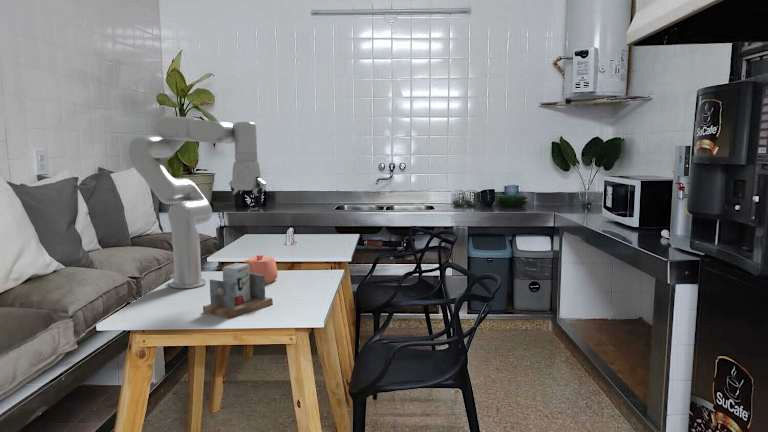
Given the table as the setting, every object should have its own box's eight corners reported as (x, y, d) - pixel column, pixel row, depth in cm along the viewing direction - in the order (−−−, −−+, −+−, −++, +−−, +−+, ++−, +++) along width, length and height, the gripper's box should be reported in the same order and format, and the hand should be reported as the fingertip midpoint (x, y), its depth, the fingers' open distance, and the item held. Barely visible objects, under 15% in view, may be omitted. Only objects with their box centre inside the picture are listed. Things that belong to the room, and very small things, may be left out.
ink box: (237, 306, 177) (235, 268, 176) (223, 305, 179) (221, 267, 178) (251, 299, 186) (249, 263, 184) (237, 298, 187) (236, 262, 186)
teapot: (282, 277, 226) (281, 251, 225) (264, 288, 209) (263, 260, 207) (255, 276, 228) (254, 251, 227) (235, 287, 211) (234, 259, 210)
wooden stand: (203, 312, 178) (201, 280, 177) (246, 299, 193) (245, 270, 192) (230, 318, 171) (228, 285, 170) (272, 304, 186) (271, 274, 185)
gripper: (220, 157, 202) (223, 206, 204) (256, 157, 192) (258, 208, 194) (237, 157, 208) (239, 204, 210) (272, 157, 199) (273, 206, 201)
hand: (248, 206), depth 202 cm, fingers open, 9 cm apart
